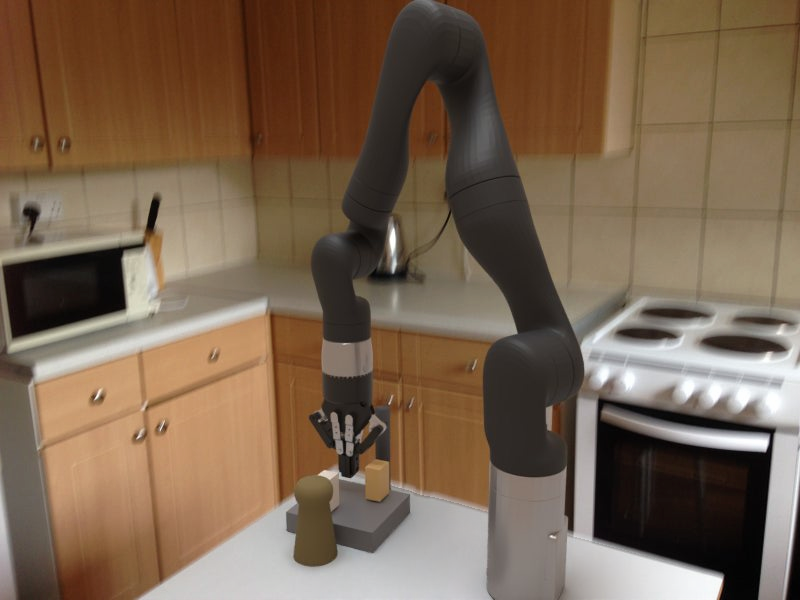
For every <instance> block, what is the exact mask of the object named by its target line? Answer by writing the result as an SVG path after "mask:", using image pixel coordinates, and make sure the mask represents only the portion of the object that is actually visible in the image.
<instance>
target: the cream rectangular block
mask: <svg viewBox="0 0 800 600" xmlns="http://www.w3.org/2000/svg"><path fill="white" fill-rule="evenodd" d="M339 473H340V472H336V471H331V470H326V469H323V470H322V471H321V472H319V473H318V474H317V475H320V476H324V477H326V478H328V479H329V480H330V482H331V483H332V486H333V496H332V499H331V501H330V502H329V503H330V509H331V512H332V511H333V510H334V509H335V508H336V507H337V506H338V505H339V479H340V478H339Z"/></svg>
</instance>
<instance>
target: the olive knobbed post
mask: <svg viewBox="0 0 800 600" xmlns="http://www.w3.org/2000/svg"><path fill="white" fill-rule="evenodd" d="M293 494H294V498H295V501H296V504H297V503H298V504H299V508H298V517H297V527H296V533H295V537H294V547H293V556H292V557H293V559H294V561H295V562H296V563H297V564H300V565H301V566H304V567H320V566H325V565H328V564H329V563H331V562H333V561H334V560H335V559H336V558H337V556H338V546H337V545H338V544H336V539H335V533H334V527H333V521H332V515H331V509H330V503H329V502H330V501H331V499H332V496H333V486H332V483H331V482H330V480H329V479H328V478H326V477H324V476H320V475H318V474H311V475H307V476H304V477H302V478H300V479H299V480H298V481H297V482H296V484H295V486H294V491H293Z"/></svg>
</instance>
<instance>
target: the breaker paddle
mask: <svg viewBox="0 0 800 600" xmlns="http://www.w3.org/2000/svg"><path fill="white" fill-rule="evenodd" d="M364 475H365V476H364V480H365V481H364V484H365V498H366V499H370V500H374V501H379V502H380V501H381V500H382V499H383V498H384V497H385V496H386V495H387V494H389V462H387V461H382V460H377V459H376V458H374V459H373V460H372V461H371V462H370V463H368V464H367V465H366V466H365V467H364Z"/></svg>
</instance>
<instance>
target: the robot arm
mask: <svg viewBox="0 0 800 600" xmlns="http://www.w3.org/2000/svg"><path fill="white" fill-rule="evenodd" d="M485 39H486V38H485V37H484V33H483V31H482V29H481V26H480V25H479V23H478V21H477V20H476V19H475V18H474V17H473V16H471V14H469V13H467V12H465V11H463V10H462V9H458V8H455V7H453V6H450V5H448V4H444V3H442V2H438V1H436V0H413V1H410V2H409V3H408V4H406V5H405V6H404V7H402V9H401V10H400V12H399V13H398V15H397V17H396V18H395V20H394V21H393V25H392V27H391V30H390V34H389V37H388V40H387V43H386V48H385V52H384V57H383V61H382V66H381V69H380V74H379V78H378V82H377V87H376V90H375V91H376V92H375V96H374V100H373V105H372V108H371V109H372V110H371V114H370V119H369V122H368V127H367V130H366V134H365V138H364V142H363V144H362V148H361V151H360V153H359V156H358V159H357V162H356V163H355V164H356V165H355V167H354V169H353V171H352V174H351V177H350V179H349V182H348V183H347V187H346V189H345V192H344V194H343V197H342V200H341V211H342V213H343V215H344V216H345V217H346V218H347V219H348V220H349V224H348V226H347V229H346V230H345V231H341V232H340V231H339V232H334V233H328V234H324V235H323V236H321V237H320V238H319V239H317V241H316V242H315V244H314V245H313V248H312V251H311V255H310V271H311V274H312V278H313V282H314V286H315V290H316V294H317V298H318V301H319V303H320V306H321V311H322V345H321V361H320V362H321V380H322V381H321V385H322V386H321V388H322V389H321V390H322V397H323V400H322V403H321V405H320V409H316V410H315V411H314V412H312V413H311V414H310V415H309V416H308V420H309V421H310V423H311V425H312V426H313V427H314V430H315V431H316V432H317V434H318V435H319V437H320V438H321V440H322V442H323V443H324V444H325V446H326V448H328V449H333V450H335V451H336V454H337V457H338V458H337V460H338V461H337V462H338V468H337V469H338V473H340V475H341V477H342V478H348V479H352V478H354V477H355V475H356V474H357V473H358V472H359V471H360V455H364V454H365V453H366V452H368V451H369V449H370V448H371V447H372V446H373V445H374V444H375V442H376V440H377V439H378V438H379V437H380V436H381V435H382V434H383V432H384V431H385V430H386V429H387V428H388V422H387V421H382V422H381V421H380V420H379V419H378V418H377V417H376V416H375V407H374V404H373V397H374V382H373V381H374V374H373V373H374V359H373V357H374V354H373V353H374V352H373V345H372V314H371V313H372V312H371V311H372V310H371V306H370V303H369V301H368V300H367V298H365V297H363V296H359V295H356V293H355V292H356V291H355V288H354V280H357V279H362V278H366V277H367V276H370V275H371V273H373V272H374V271H375V269H377V267H378V265H379V264H380V262H381V260H382V257H383V254H384V251H385V246H386V240H387V236H388V234H387V233H388V229H389V220H390V216H391V215H392V213H393V211H394V208H395V206H396V204H397V203H398V199H399V198H400V195H401V192H402V190H403V187H404V185H405V182H406V180H407V175H408V173H409V172H408V171H409V165H410V126H411V120H412V119H411V118H412V115H413V112H414V108H415V104H416V103H417V100H418V98H419V97H420V96H419V95H420V94H421V91H422V90H423V88H424V86H425V85H426V83H427V82H432V83H434V84H435V85H436V87H437V89H438V91H439V93H440V96H441V98H442V102H443V105H444V108H445V112H446V116H447V117H448V118H447V119H448V123H449V129H450V138H449V147H448V150H447V151H448V152H447V157H446V164H445V165H446V166H445V173H444V187H445V193H446V197H447V201H448V205H449V208H450V212H451V214H452V218H453V222H454V225H455V229H456V231H457V234H458V237H459V238H460V241H461V242H462V245H463V246H464V247H465V249H466V250H467V251H468V253H469V254H470V255H471V257H472V258H473V259H474V260H475V262H477V264H478V265H479V266H480V267H481V268H482V270H484V272H485V273H486V274H487V275H488V276H489V277H490V279H492V281H493V282H494V283H495V284H496V286H497V287H498V289H499V290H500V292H501V293H502V295H503V297H504V299H505V300H506V303H507V305H508V307H509V310H510V312H511V313H510V314H511V315H512V319H513V322H514V326H515V329H516V332H517V333H515V334H511V335H507V336H505V337H501V338H500V339H497V340H496V341H494V342H493V343H492V344H491V345H490V347H489V348H488V349H487V352H486V355H485V357H484V358H485V359H484V362H483V365H482V366H483V367H482V404H483V410H482V411H483V428H484V429H483V431H484V435H485V436H484V437H485V439H486V442H487V444H488V448H489V467H488V468H489V470H488V471H489V473H488V476H489V477H488V504H487V505H488V506H487V507H488V508H487V509H488V511H487V513H488V514H487V545H486V547H487V550H486V551H487V553H486V556H487V557H486V573H485V574H486V589H487V592H488V593H489V595H490V596H491V598H493V599H494V600H560V597H561V594H562V592H563V590H564V587H565V585H566V568H567V567H566V564H567V547H568V546H567V545H568V529H569V528H568V527H569V525H568V524H569V517H568V516H567V515H566V514H565V510H566V509H565V508H566V507H565V506H566V504H565V503H566V485H567V468H568V467H567V464H568V445H567V442H566V440H565V439H564V438H563V436H561V435H560V434H558V433H557V432H554V431H552V430H551V431H550V430H547V429H546V407H549V406H552V407H553V406H555V405H556V404H560V403H562V402H565V401H567V400H570V399H571V398H573V397H575V396H576V395H577V394H579V393H578V392H580V390H581V389H582V386H583V383H584V379H585V362H584V361H585V360H584V357H583V352H582V349H581V347H580V343H579V341H578V339H577V337H576V334H575V331H574V328H573V326H572V324H571V321H570V319H569V317H568V314H567V312H566V310H565V307H564V305H563V303H562V301H561V298H560V296H559V293H558V290H557V289H556V286H555V283H554V280H553V277H552V276H551V275H552V274H551V271H550V269H549V266H548V263H547V259H546V256H545V253H544V250H543V248H542V244H541V242H540V239H539V236H538V234H537V230H536V229H537V228H536V227H535V224H534V220H533V216H532V212H531V207H530V203H529V200H528V196H527V194H526V191H525V187H524V184H523V180H522V177H521V175H520V171H519V169H518V166H517V164H516V161H515V157H514V155H513V151H512V148H511V144H510V141H509V136H508V133H507V130H506V126H505V124H504V121H503V118H502V114H501V111H500V107H499V105H498V99H497V95H496V90H495V85H494V80H493V79H494V78H493V75H492V70H491V64H490V58H489V53H488V48H487V43H486V40H485ZM368 424H369V426H368ZM367 426H368V432H369V433H368V434H367V435H366V436H365V438H364V439H363V440H362V437H363V435H364V430H365V428H366V427H367Z"/></svg>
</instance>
